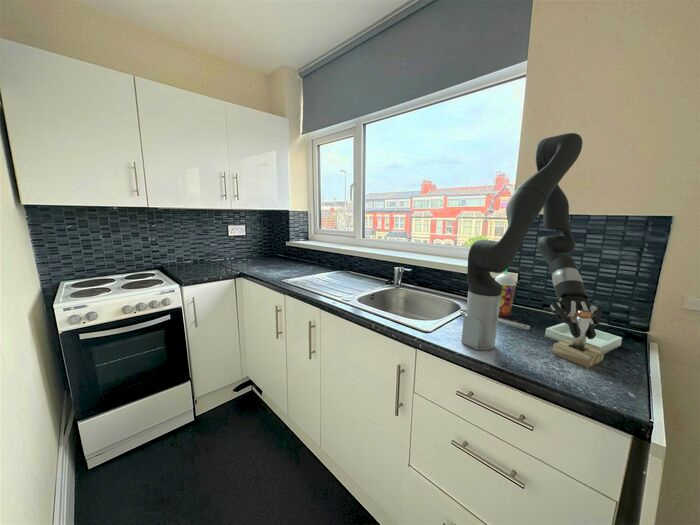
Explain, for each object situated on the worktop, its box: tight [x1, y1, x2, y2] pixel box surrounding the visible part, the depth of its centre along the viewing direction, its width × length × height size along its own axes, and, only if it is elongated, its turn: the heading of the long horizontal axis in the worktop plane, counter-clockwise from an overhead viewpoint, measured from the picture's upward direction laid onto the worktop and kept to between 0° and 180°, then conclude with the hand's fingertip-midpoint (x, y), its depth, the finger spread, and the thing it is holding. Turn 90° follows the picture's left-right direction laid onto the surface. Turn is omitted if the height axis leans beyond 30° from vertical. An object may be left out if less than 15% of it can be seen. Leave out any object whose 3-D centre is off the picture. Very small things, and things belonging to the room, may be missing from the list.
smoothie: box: [494, 269, 517, 317], centre depth 115 cm, size 8×8×20 cm
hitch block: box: [551, 338, 605, 369], centre depth 83 cm, size 9×9×3 cm
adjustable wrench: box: [459, 308, 531, 331], centre depth 109 cm, size 25×6×2 cm, turn 46°
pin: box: [571, 310, 592, 352], centre depth 82 cm, size 3×3×12 cm
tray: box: [544, 322, 623, 355], centre depth 93 cm, size 15×15×3 cm
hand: (584, 337), depth 80 cm, fingers closed on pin, 3 cm apart
